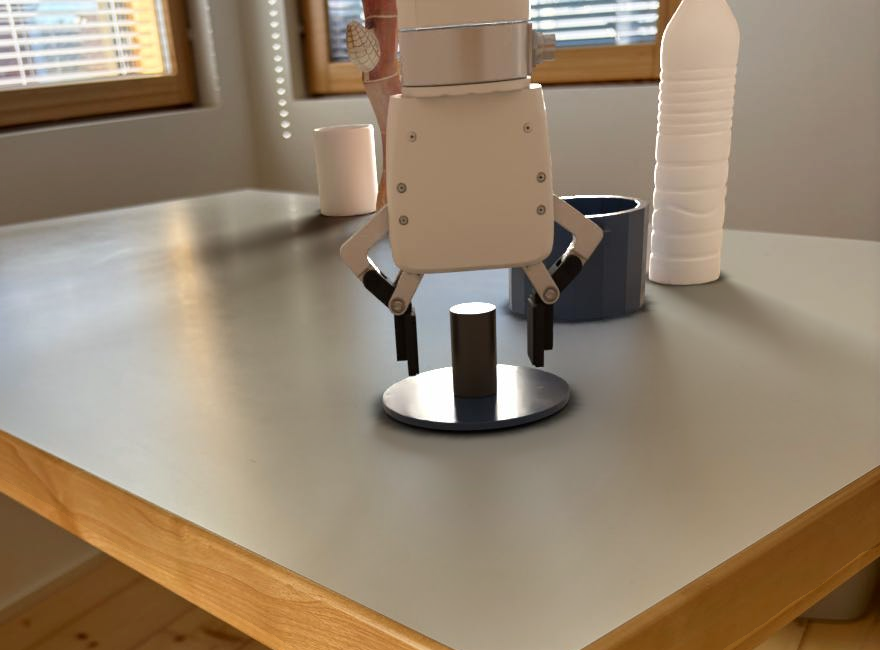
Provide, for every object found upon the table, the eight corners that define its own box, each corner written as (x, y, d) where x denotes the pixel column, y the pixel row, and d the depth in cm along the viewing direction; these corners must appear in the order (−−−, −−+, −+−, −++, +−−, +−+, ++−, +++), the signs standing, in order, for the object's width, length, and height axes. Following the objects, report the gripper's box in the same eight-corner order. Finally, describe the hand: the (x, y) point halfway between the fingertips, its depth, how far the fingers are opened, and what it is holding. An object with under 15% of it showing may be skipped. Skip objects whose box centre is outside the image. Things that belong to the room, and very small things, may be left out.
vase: (421, 213, 143) (407, -44, 128) (442, 220, 137) (430, -50, 122) (350, 223, 140) (327, -40, 125) (368, 230, 134) (346, -45, 119)
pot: (621, 283, 98) (625, 187, 94) (664, 328, 84) (671, 217, 79) (500, 292, 99) (498, 197, 94) (522, 338, 84) (521, 228, 80)
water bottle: (716, 288, 94) (743, -38, 81) (643, 287, 96) (659, -30, 84) (724, 268, 101) (750, -35, 88) (656, 268, 103) (673, -28, 91)
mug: (387, 211, 147) (381, 126, 141) (329, 218, 145) (321, 132, 139) (362, 202, 157) (356, 121, 151) (308, 208, 155) (300, 127, 149)
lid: (554, 373, 75) (555, 280, 72) (584, 431, 64) (587, 325, 61) (382, 386, 75) (375, 293, 72) (384, 446, 65) (375, 340, 61)
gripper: (603, 50, 63) (594, 342, 72) (318, 73, 63) (345, 360, 72) (629, 53, 56) (616, 373, 65) (311, 78, 56) (342, 393, 65)
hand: (474, 364), depth 68 cm, fingers open, 7 cm apart
